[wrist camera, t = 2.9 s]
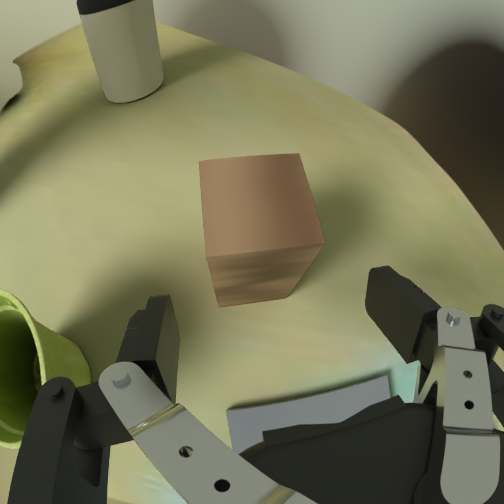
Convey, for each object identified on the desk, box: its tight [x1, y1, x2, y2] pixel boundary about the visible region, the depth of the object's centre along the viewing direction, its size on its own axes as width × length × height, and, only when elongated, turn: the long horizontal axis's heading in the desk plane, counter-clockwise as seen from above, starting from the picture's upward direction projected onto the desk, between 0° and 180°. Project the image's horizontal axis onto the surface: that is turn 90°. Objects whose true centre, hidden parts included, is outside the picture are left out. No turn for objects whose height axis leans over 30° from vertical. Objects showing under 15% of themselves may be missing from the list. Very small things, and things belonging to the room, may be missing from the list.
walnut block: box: [199, 154, 325, 307], centre depth 17 cm, size 5×5×10 cm
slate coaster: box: [226, 375, 391, 454], centre depth 16 cm, size 12×12×1 cm
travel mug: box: [77, 0, 164, 103], centre depth 22 cm, size 8×8×18 cm
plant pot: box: [0, 289, 91, 449], centre depth 14 cm, size 9×9×9 cm
